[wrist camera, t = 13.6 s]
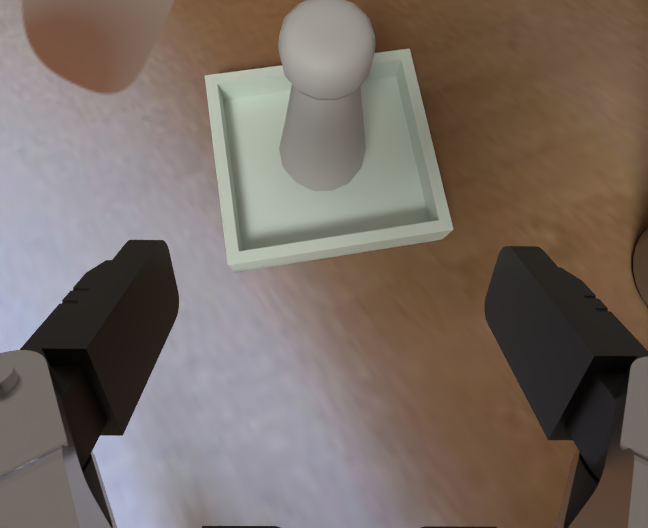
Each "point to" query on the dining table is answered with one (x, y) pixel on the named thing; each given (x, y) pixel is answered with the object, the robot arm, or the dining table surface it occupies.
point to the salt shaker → (325, 91)
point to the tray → (324, 206)
